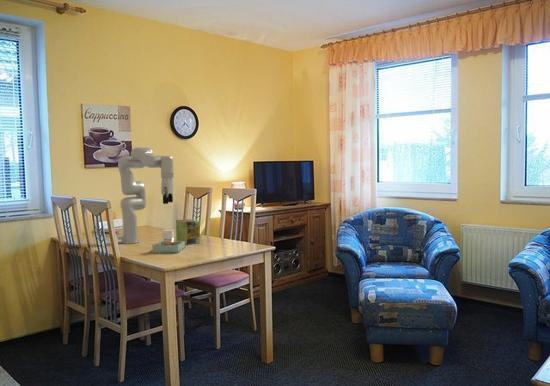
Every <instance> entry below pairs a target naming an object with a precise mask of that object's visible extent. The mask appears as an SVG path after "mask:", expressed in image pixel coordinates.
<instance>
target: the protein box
mask: <svg viewBox="0 0 550 386" xmlns="http://www.w3.org/2000/svg"><path fill="white" fill-rule="evenodd" d="M200 225H201V223H200V220H196V219H190V218H187V219H186V218H185V219H176V220H175V234H176V235H175V241H185V246H191V245H196V244H200V243H201V226H200Z"/></svg>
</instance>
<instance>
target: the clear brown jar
mask: <svg viewBox="0 0 550 386" xmlns="http://www.w3.org/2000/svg"><path fill="white" fill-rule="evenodd" d="M163 241H164V246H174V241H175V237H174V238H172V239H163Z"/></svg>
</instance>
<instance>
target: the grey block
mask: <svg viewBox="0 0 550 386" xmlns="http://www.w3.org/2000/svg"><path fill="white" fill-rule="evenodd" d="M161 237H162V239H163V240H164V239H172V238H174V239H175V229H167V228H166V229H163V230H162V231H161Z"/></svg>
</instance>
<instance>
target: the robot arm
mask: <svg viewBox="0 0 550 386" xmlns="http://www.w3.org/2000/svg"><path fill="white" fill-rule="evenodd" d="M117 163H118V164H117V167H118V171H119V174H120V185H121V192H122V195H124V196H129V197H123V198H122V199H121V200H120V209H121V215H122V218H121V219H122V236H117V240H121V241H120V243H121V244H122V245H123V244H125V245H129V244H132V245H133V244H138V243H140V241H141V240H140V239H138V216H137V215H136V213H135V211H142V210H144V209H145V208H146V205H147V198H146V188H145V184H144V182H142V181H141V180H140V181H139V180H135V179H134V178H135V177H134V173H133V172H132V171H131V169H133V170H134V169H144V168H145V167H147V168H150V169H157V168H160V177H161V187H160V190H161V191H160V192H161V194H162V204H164V205H168V204H169V203H173V202H174V199H173V198H174V196H173V195H174V184H173V179H174V158H173V156H171V155H154V151H153V149H151V148H150V147H140V146H139V147H134V148H132V149H131V151H130V155H128V156H122V157H120V158H119V159H118V162H117ZM134 195H135V196H134Z"/></svg>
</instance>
